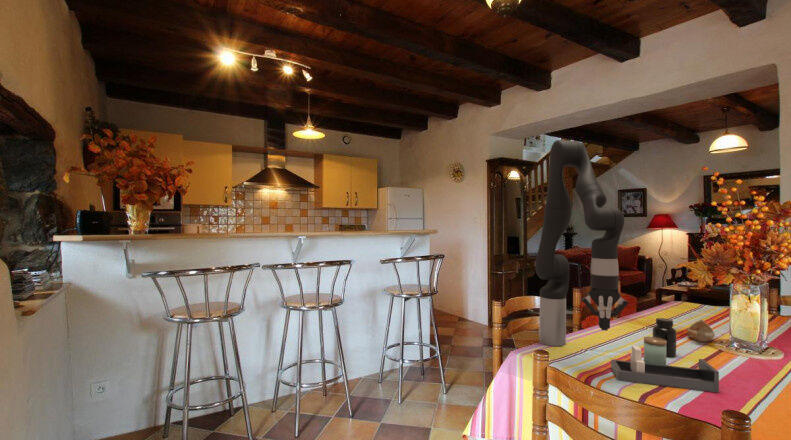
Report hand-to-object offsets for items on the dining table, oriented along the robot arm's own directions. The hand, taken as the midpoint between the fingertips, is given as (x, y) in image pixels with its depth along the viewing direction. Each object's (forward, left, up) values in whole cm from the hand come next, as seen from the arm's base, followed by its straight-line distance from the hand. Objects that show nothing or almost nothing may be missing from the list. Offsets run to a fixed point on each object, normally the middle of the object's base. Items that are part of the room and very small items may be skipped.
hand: (604, 329), depth 118 cm
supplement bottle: (+23, +25, -13) cm, 36 cm away
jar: (+17, +13, -13) cm, 25 cm away
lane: (+15, 0, -13) cm, 20 cm away
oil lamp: (+42, +49, -13) cm, 66 cm away
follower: (+9, 0, -13) cm, 16 cm away
